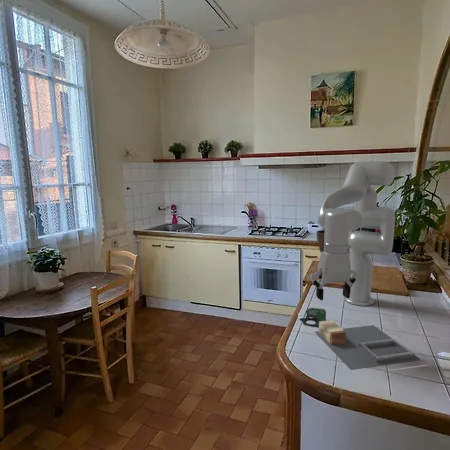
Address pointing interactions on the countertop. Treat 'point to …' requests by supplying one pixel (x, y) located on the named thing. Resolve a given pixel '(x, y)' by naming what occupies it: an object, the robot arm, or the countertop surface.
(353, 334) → the rubber mat
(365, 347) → the metal frame
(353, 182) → the robot arm
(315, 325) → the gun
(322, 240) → the plant pot
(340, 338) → the maple block
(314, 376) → the countertop surface
